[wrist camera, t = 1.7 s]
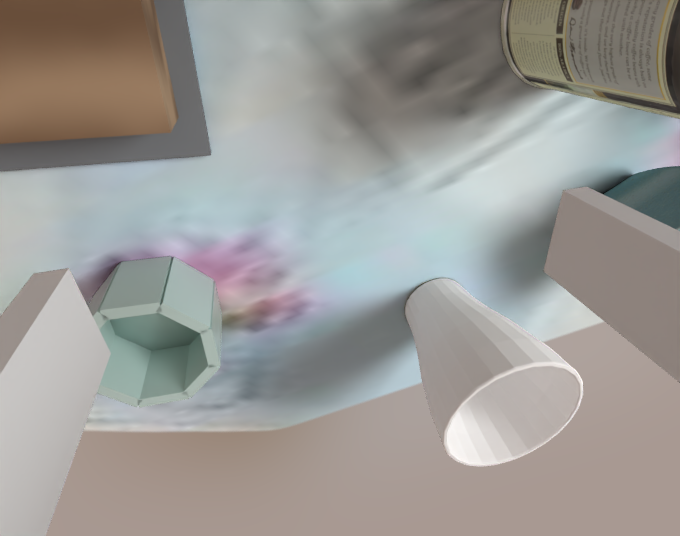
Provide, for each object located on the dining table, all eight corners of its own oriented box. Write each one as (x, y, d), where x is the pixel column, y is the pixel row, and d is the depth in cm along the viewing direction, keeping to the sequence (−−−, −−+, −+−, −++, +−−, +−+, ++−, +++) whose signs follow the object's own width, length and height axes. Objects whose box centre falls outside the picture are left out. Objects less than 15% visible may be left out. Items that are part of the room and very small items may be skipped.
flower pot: (582, 266, 41) (659, 322, 34) (560, 202, 36) (644, 250, 29) (662, 215, 40) (761, 261, 32) (650, 142, 35) (762, 176, 28)
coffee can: (635, -128, 25) (996, -256, 13) (639, 45, 30) (893, 64, 19) (481, -38, 25) (693, -83, 14) (514, 114, 31) (683, 175, 19)
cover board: (-141, -131, 18) (-227, -163, 15) (127, -120, 20) (107, -147, 16) (-20, 129, 24) (-62, 147, 20) (178, 117, 26) (170, 132, 22)
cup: (391, 358, 42) (449, 483, 31) (372, 277, 36) (435, 396, 25) (486, 326, 43) (576, 437, 31) (483, 241, 37) (593, 341, 26)
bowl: (81, 266, 30) (50, 316, 25) (208, 251, 31) (204, 296, 26) (118, 356, 35) (98, 414, 30) (227, 340, 36) (226, 392, 31)
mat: (-212, -211, 17) (-226, -218, 16) (149, -187, 19) (147, -193, 19) (-24, 170, 25) (-29, 173, 25) (211, 152, 28) (210, 155, 27)
